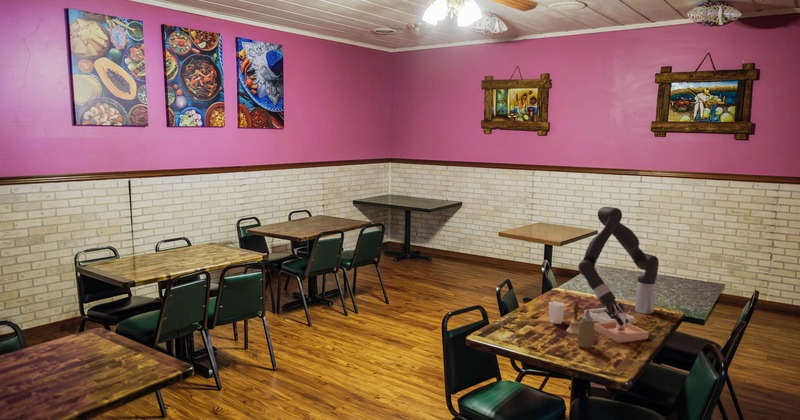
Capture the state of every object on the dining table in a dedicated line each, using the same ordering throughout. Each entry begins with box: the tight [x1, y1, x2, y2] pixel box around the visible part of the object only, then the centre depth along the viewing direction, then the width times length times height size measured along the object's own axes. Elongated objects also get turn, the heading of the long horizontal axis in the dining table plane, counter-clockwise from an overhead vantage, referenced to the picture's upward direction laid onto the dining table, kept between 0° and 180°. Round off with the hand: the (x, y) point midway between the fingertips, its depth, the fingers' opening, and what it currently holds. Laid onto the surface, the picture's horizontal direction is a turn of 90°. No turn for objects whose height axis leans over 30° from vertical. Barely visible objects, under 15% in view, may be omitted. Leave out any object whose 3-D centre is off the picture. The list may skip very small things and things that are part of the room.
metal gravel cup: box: [616, 310, 627, 331], centre depth 283 cm, size 4×4×9 cm
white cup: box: [548, 300, 565, 325], centre depth 300 cm, size 8×8×10 cm
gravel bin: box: [583, 307, 635, 325], centre depth 305 cm, size 18×18×4 cm
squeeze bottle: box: [576, 309, 596, 349], centre depth 265 cm, size 8×8×18 cm
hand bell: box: [566, 300, 580, 335], centre depth 285 cm, size 8×8×16 cm
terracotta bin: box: [594, 321, 649, 344], centre depth 283 cm, size 18×18×4 cm
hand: (624, 323), depth 281 cm, fingers closed on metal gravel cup, 4 cm apart
